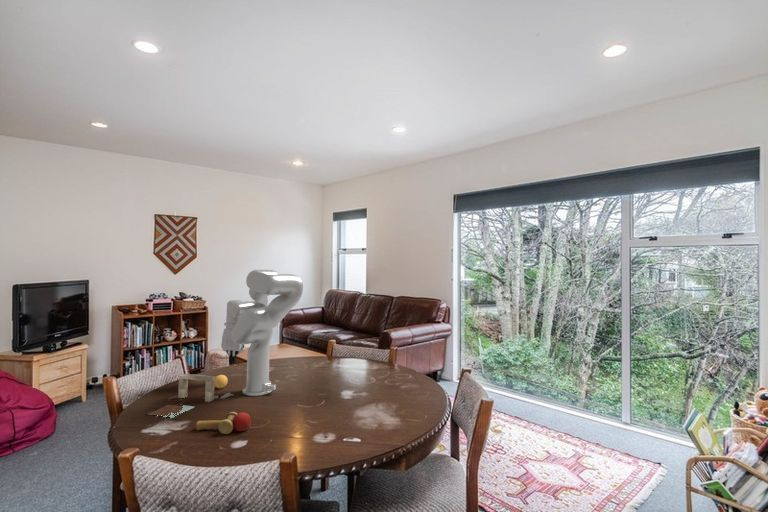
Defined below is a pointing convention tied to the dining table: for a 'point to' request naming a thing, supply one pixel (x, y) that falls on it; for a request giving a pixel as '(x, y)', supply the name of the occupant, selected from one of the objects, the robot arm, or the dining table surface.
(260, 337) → the robot arm
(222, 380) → the ball
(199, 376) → the bridge
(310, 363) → the dining table surface
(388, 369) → the dining table surface
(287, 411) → the dining table surface
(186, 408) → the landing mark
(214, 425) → the kendama
